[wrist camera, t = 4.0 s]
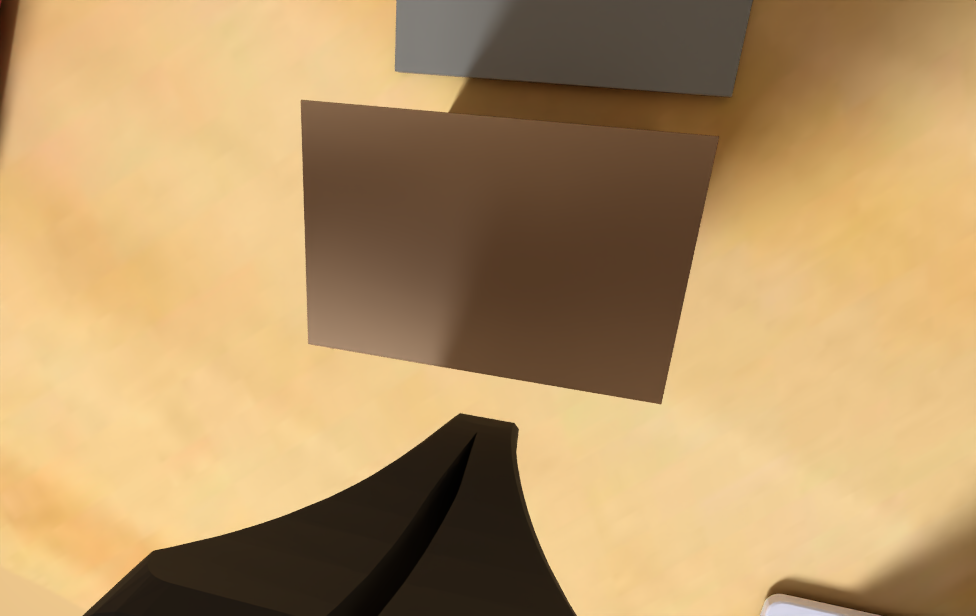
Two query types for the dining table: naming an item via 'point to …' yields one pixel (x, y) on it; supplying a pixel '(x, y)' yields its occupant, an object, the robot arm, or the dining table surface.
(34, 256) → the dining table surface
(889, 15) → the dining table surface
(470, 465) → the robot arm
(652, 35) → the mat
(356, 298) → the walnut block
